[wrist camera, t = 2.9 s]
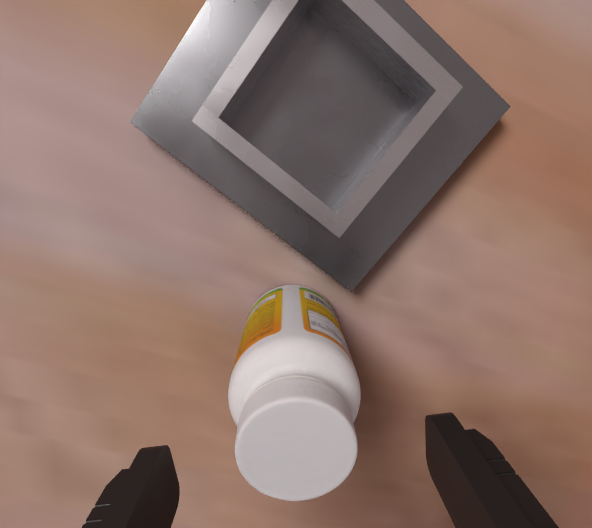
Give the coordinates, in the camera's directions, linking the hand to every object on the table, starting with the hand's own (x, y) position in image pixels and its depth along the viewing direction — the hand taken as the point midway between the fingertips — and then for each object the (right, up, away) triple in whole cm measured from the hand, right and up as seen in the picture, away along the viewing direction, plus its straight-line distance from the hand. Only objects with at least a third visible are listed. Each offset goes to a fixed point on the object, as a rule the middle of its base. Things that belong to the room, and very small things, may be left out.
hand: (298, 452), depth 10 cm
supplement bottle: (0, +2, +10) cm, 10 cm away
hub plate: (+1, +13, +7) cm, 15 cm away
